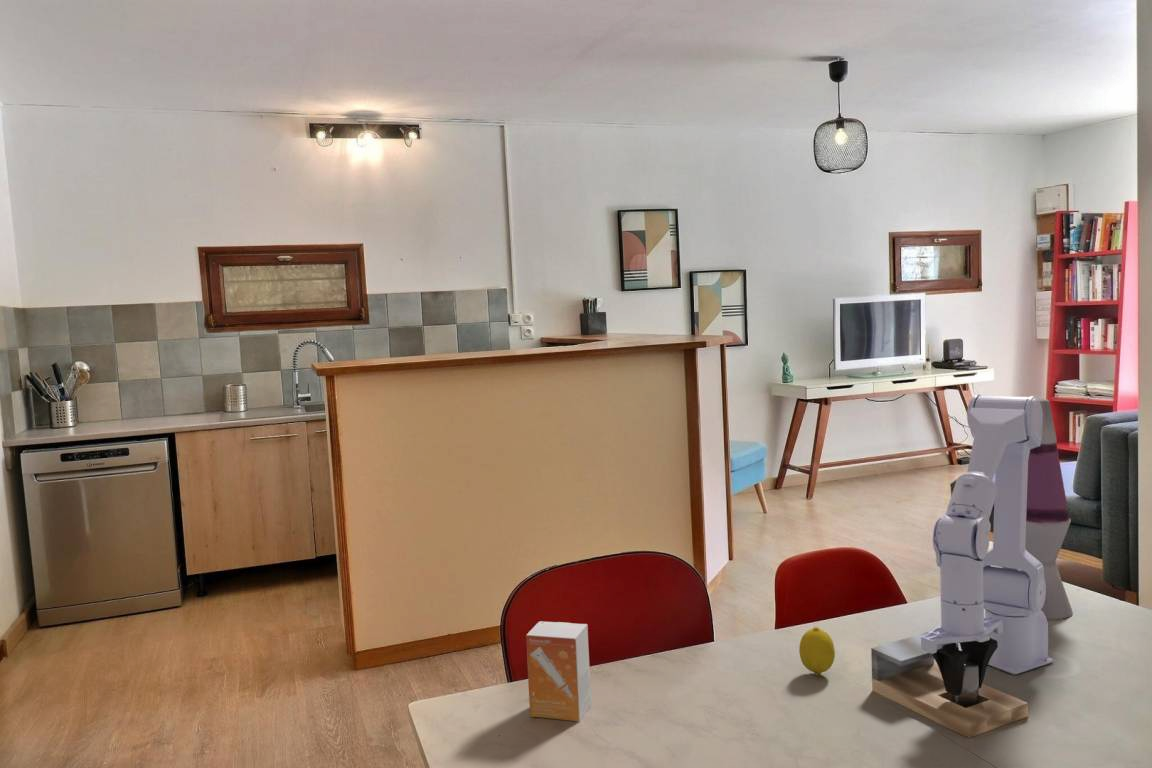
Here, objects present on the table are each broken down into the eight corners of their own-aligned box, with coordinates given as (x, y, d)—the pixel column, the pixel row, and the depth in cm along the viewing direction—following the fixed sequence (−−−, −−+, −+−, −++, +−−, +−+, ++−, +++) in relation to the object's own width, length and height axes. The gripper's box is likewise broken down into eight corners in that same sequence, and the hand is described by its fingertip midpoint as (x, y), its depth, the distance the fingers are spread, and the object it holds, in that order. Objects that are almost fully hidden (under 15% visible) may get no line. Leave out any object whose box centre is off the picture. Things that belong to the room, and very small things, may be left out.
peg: (962, 702, 133) (961, 656, 133) (984, 711, 130) (983, 664, 130) (946, 709, 131) (946, 662, 131) (968, 718, 128) (968, 670, 128)
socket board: (928, 673, 144) (927, 632, 144) (1028, 716, 128) (1027, 670, 128) (872, 690, 139) (871, 648, 139) (969, 738, 123) (968, 690, 123)
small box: (529, 717, 136) (524, 634, 135) (543, 699, 142) (538, 619, 141) (580, 722, 134) (575, 638, 133) (592, 704, 140) (588, 622, 139)
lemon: (836, 682, 143) (835, 634, 142) (800, 681, 144) (799, 633, 143) (833, 668, 148) (832, 621, 147) (799, 667, 149) (797, 620, 149)
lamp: (1001, 600, 176) (999, 397, 172) (1060, 600, 174) (1059, 395, 170) (1018, 619, 165) (1016, 404, 162) (1082, 620, 163) (1081, 402, 160)
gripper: (948, 616, 123) (950, 712, 124) (1020, 596, 129) (1021, 687, 130) (908, 602, 129) (910, 693, 130) (979, 584, 136) (980, 671, 137)
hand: (963, 689), depth 131 cm, fingers open, 4 cm apart
